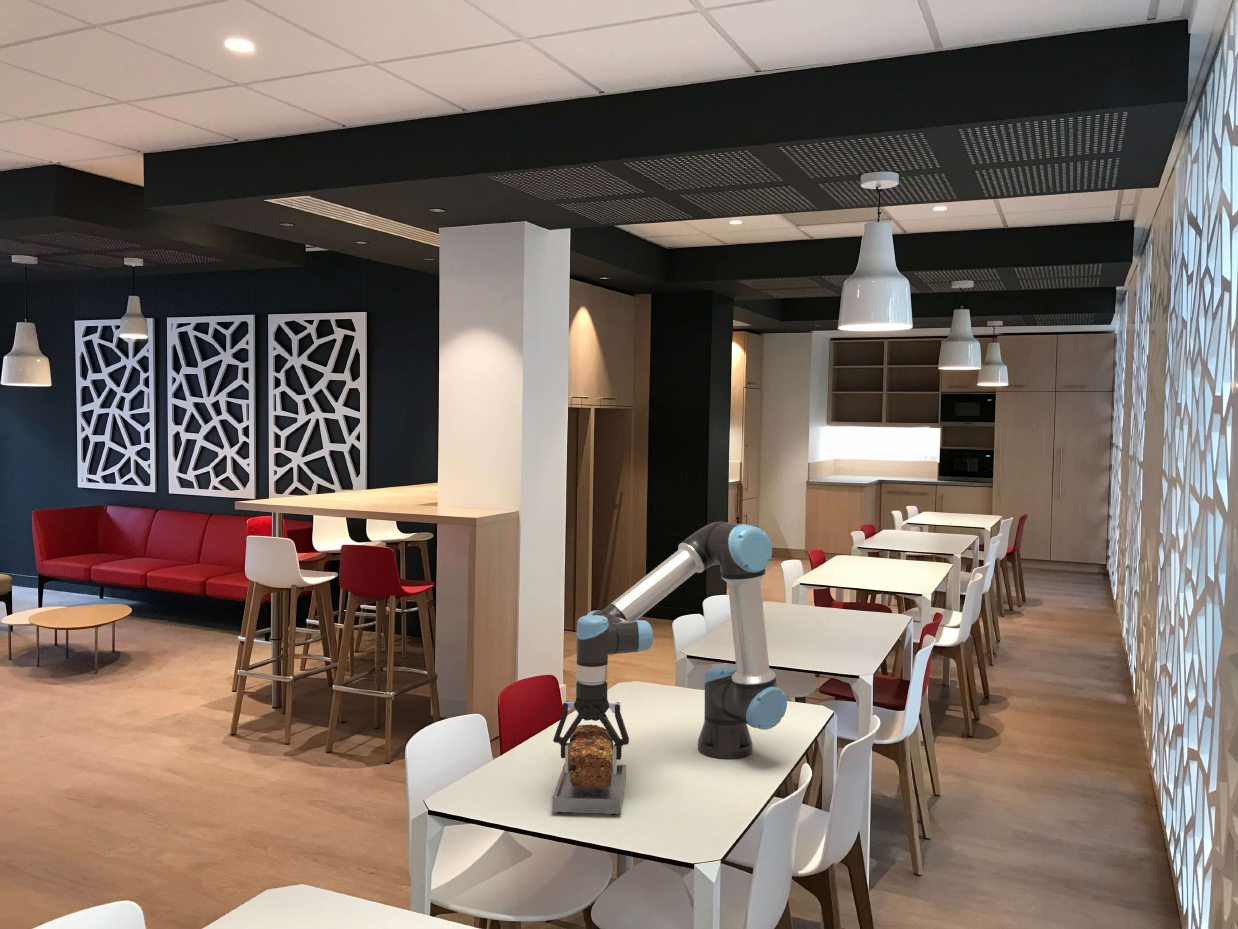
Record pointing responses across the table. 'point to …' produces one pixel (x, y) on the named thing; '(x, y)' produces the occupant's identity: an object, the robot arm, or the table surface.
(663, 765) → the table surface
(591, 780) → the bread
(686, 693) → the table surface
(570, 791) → the grey serving tray
